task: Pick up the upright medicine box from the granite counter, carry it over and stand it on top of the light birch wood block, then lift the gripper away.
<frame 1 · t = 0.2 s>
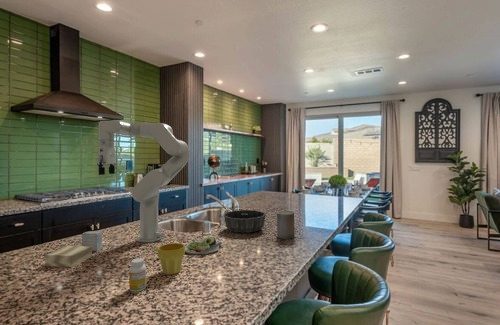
hand: (107, 174, 154), 36 cm above the countertop, tool pointing down, fingers open, 9 cm apart
birch block: (69, 261, 121), on the countertop
bundt pan: (244, 230, 173), on the countertop
salad plate: (203, 249, 136), on the countertop
pillar candle: (285, 237, 156), on the countertop
medicine box: (92, 250, 136), on the countertop
plant pot: (171, 271, 109), on the countertop
supplement bottle: (138, 289, 95), on the countertop
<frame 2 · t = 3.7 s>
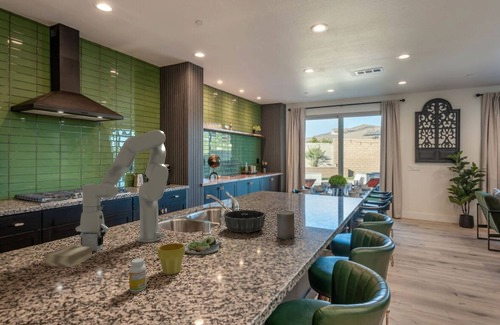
hand: (92, 244, 136), 3 cm above the countertop, tool pointing down, fingers closed on medicine box, 8 cm apart
medicine box: (92, 250, 136), on the countertop, touching gripper
everything else where it was.
when the fingers open (8 cm above the countertop, at t = 11.2 s): medicine box drops 1 cm, resting on birch block.
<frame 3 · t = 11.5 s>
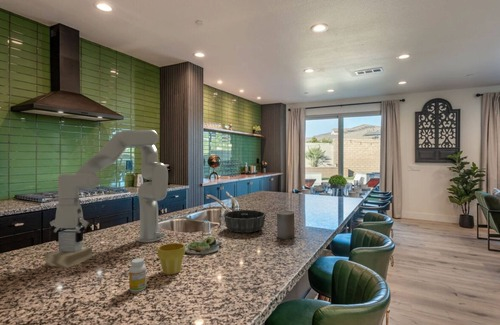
hand: (69, 241, 121), 9 cm above the countertop, tool pointing down, fingers open, 9 cm apart
birch block: (69, 262, 121), on the countertop, touching medicine box
medicine box: (70, 251, 121), point 4 cm above the countertop, touching birch block
everything else where it was.
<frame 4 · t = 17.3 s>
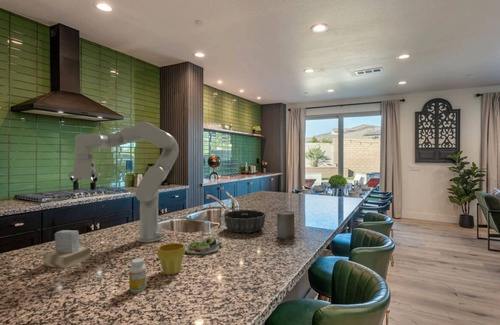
hand: (84, 189, 148), 28 cm above the countertop, tool pointing down, fingers open, 9 cm apart
medicine box: (67, 251, 120), point 4 cm above the countertop, touching birch block
everything else where it was.
at the end: medicine box inside the target area on the birch block (0.3 cm from its centre), point 4.8 cm above the birch block's base; medicine box tilted 0°; the gripper is holding nothing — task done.
